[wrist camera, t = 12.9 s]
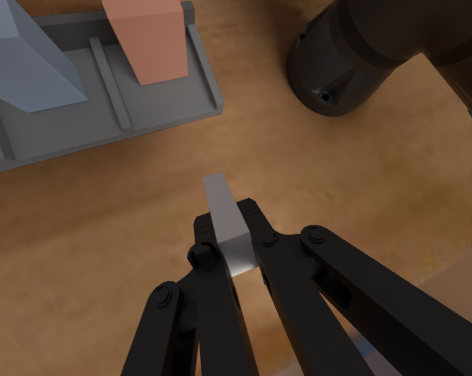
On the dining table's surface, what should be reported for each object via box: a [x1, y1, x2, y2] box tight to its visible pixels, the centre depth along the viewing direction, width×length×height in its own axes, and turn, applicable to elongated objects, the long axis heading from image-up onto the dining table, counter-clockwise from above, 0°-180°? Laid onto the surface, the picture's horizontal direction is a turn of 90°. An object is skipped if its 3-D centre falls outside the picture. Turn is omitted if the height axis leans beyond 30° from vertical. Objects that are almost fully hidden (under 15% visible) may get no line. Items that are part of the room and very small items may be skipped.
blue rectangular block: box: [0, 0, 88, 113], centre depth 16 cm, size 6×4×8 cm, turn 111°
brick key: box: [101, 0, 188, 86], centre depth 18 cm, size 6×4×8 cm, turn 111°
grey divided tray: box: [0, 1, 224, 172], centre depth 19 cm, size 36×12×4 cm, turn 111°
